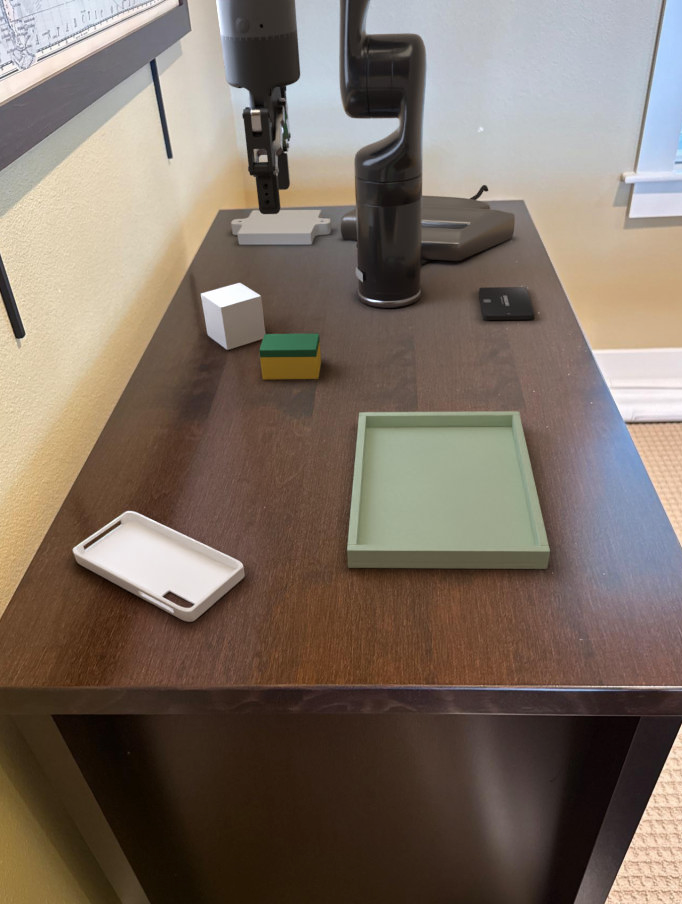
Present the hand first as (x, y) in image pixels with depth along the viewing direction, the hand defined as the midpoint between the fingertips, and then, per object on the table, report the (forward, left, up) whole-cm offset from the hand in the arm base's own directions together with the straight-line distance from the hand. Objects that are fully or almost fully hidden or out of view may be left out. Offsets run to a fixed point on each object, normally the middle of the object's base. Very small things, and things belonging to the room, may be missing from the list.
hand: (275, 200), depth 86 cm
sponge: (0, 0, -21) cm, 21 cm away
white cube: (-10, -9, -21) cm, 25 cm away
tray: (+26, +18, -21) cm, 38 cm away
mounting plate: (-53, -8, -21) cm, 57 cm away
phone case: (+38, -8, -21) cm, 44 cm away
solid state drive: (-19, +29, -21) cm, 40 cm away
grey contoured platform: (-48, +18, -21) cm, 55 cm away
